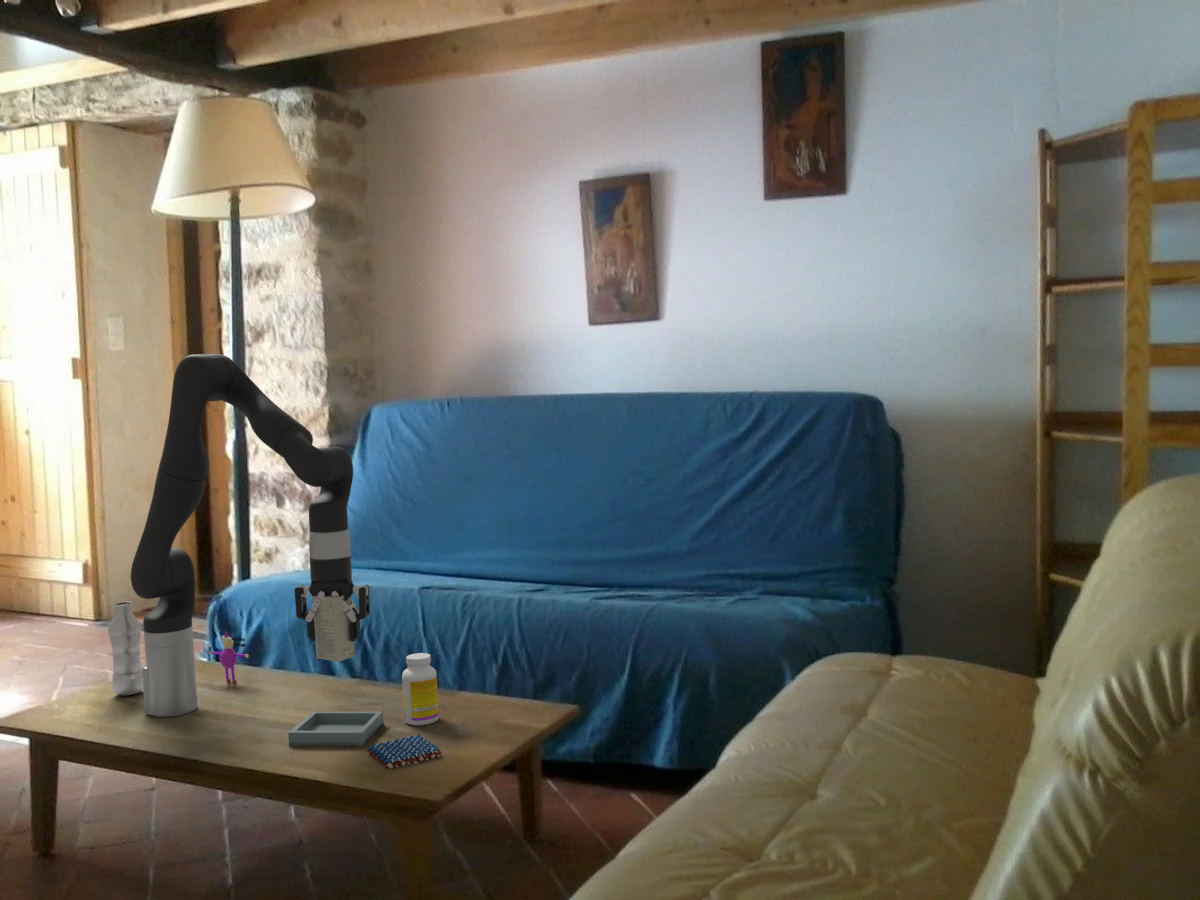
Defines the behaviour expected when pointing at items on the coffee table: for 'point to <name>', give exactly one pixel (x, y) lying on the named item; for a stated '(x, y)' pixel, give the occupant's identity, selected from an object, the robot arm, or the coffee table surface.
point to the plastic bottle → (125, 650)
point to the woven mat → (403, 751)
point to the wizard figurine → (229, 655)
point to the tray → (336, 729)
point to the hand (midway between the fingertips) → (334, 640)
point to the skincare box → (332, 630)
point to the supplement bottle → (420, 690)
